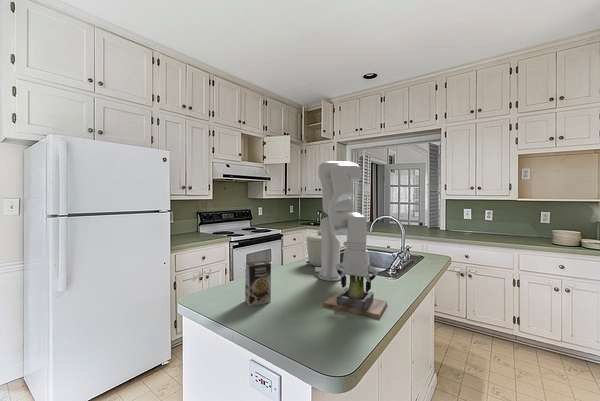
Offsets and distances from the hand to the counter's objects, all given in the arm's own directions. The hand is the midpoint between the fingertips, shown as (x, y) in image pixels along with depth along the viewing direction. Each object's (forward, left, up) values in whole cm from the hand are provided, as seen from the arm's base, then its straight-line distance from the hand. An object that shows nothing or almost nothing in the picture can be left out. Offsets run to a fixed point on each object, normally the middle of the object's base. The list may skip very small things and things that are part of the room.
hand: (355, 288), depth 114 cm
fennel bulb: (0, 0, -5) cm, 5 cm away
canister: (-37, +48, -7) cm, 61 cm away
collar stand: (0, 0, -7) cm, 7 cm away
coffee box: (-36, -16, -7) cm, 40 cm away
